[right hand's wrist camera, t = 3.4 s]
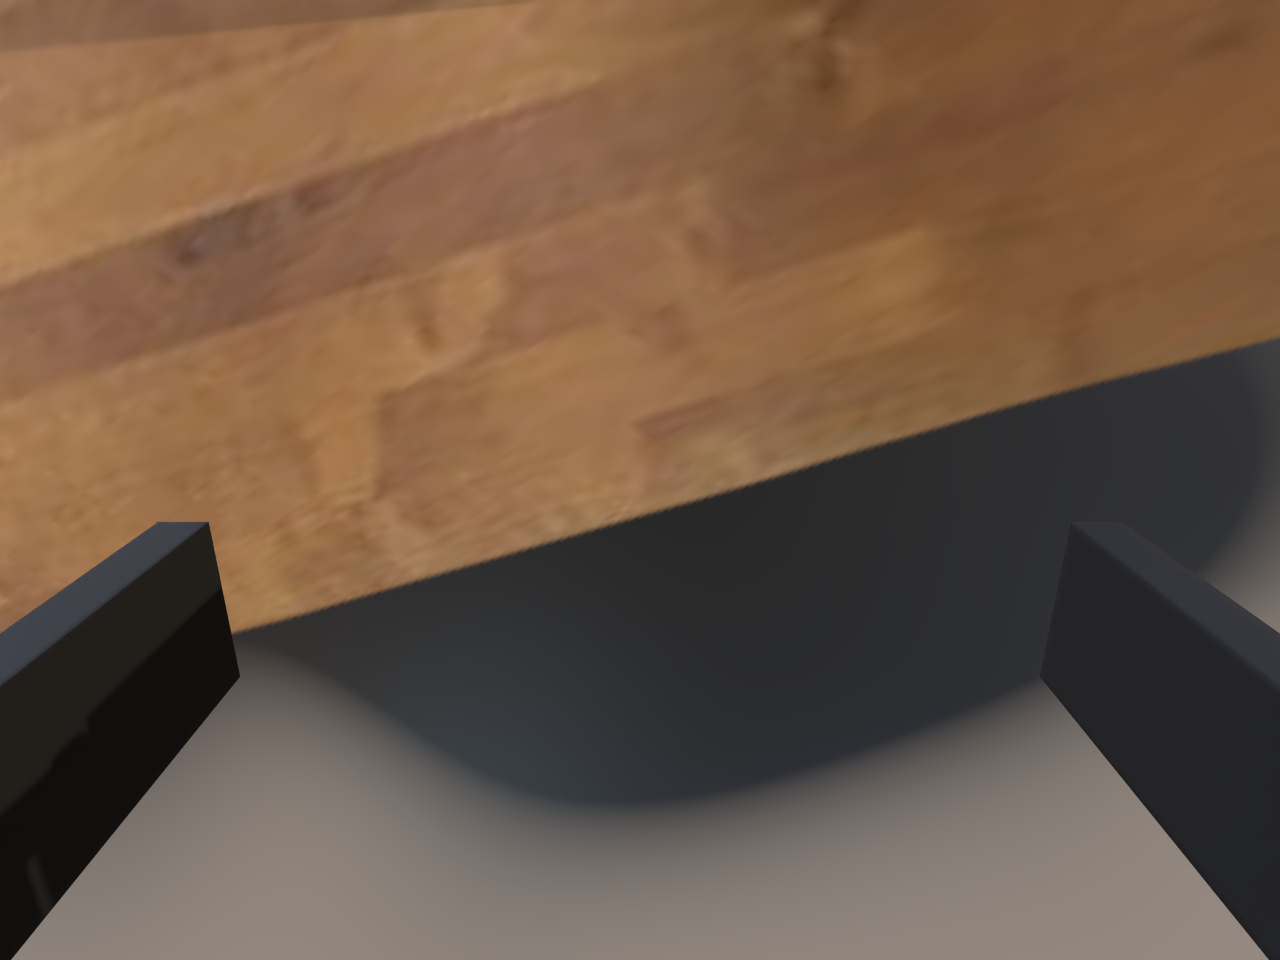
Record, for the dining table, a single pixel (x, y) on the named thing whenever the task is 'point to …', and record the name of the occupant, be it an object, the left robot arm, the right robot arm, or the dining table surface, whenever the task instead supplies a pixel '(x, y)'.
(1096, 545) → the right robot arm
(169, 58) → the dining table surface
